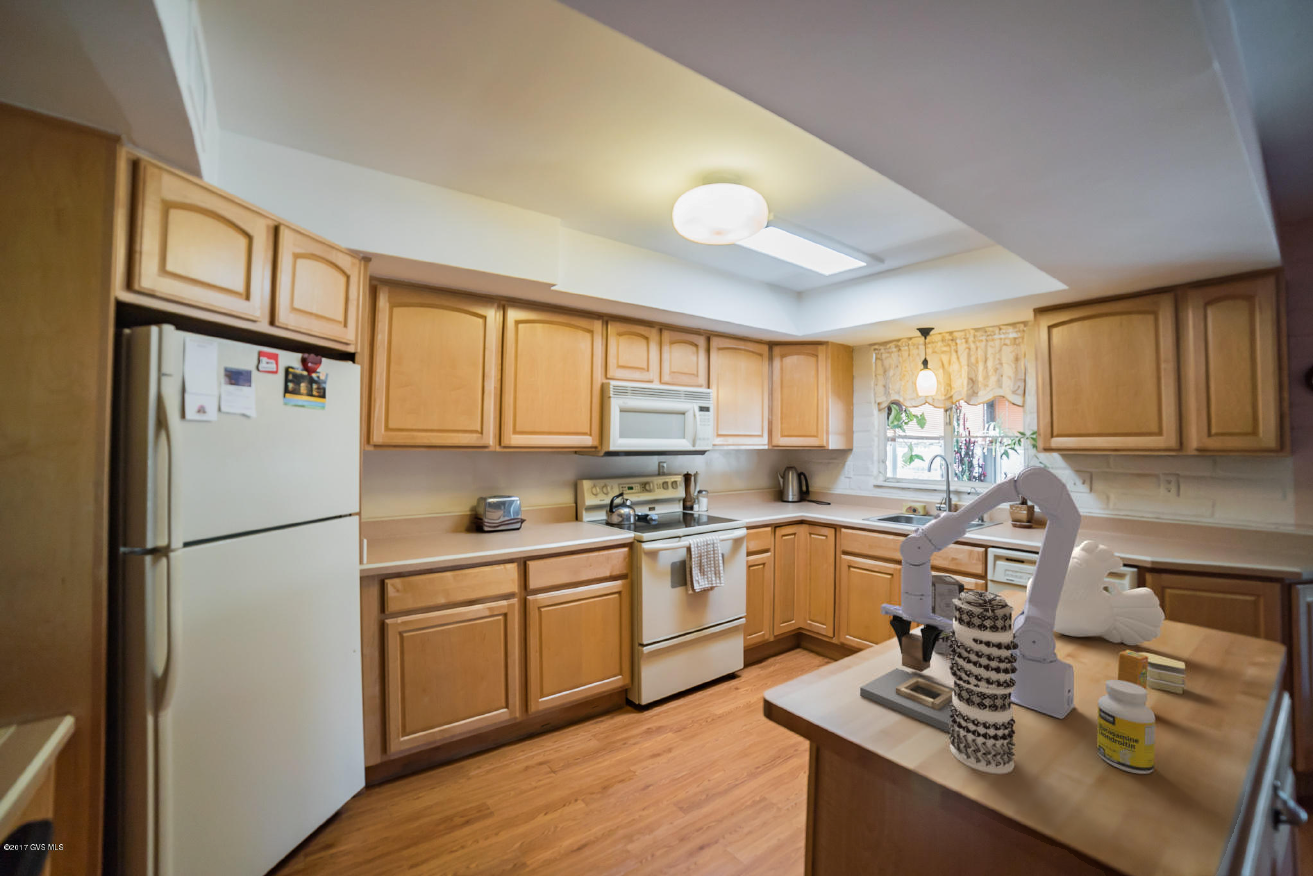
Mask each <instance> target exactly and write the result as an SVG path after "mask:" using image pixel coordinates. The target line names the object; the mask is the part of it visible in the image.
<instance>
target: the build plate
mask: <svg viewBox="0 0 1313 876" xmlns="http://www.w3.org/2000/svg"><path fill="white" fill-rule="evenodd" d="M859 689H860V690H859V691H860V692H859V695H860V696H862V697H864V698H866V699H868V700H871V701H872V702H873V701H874V702H876V703H879V704H880V705H883V706H885V707H888V708H889V709H892V710H894V711H896V712H898V713H899V712H900V713H901V714H904V715H906V716H909V717H911V718H913V719H917V720H918V721H921V722H923V723H926V724H927V725H930V726H932V727H935V728H937V729H939V730H941V731H944V732H947V733H949V734H951V733H950V729H949V725H950V724H951V723H952V722H951V718H950V714H951V713H952V712H951V708H950V704H952V692H953V691H954V687H950V686H947V685H945V684H942V683H939V682H937V681H935V680H930V679H929V678H926V677H922V676H920V675H917V674H915V673H912V672H909V671H906V670H903V669H900V668H898V667H895V668H894V669H892V670H890V671H889V672H887V673H884V674H882V675H881V676H879V677H877V678H875V679H873V680H871V681H869V682H867V683H865V684H864V685H862V686H860V688H859Z"/></svg>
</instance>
